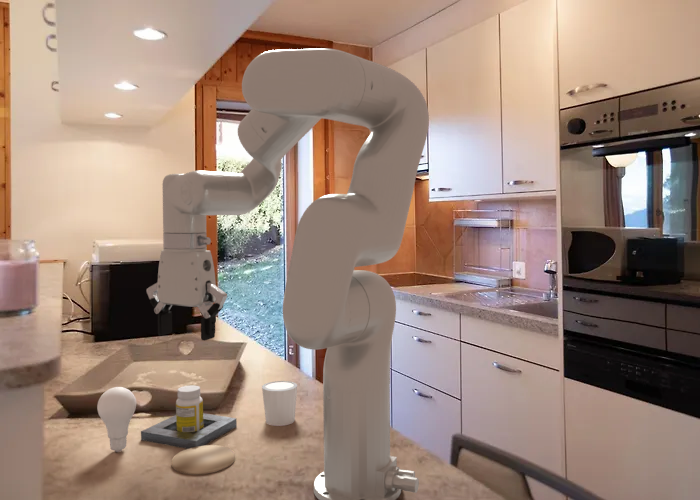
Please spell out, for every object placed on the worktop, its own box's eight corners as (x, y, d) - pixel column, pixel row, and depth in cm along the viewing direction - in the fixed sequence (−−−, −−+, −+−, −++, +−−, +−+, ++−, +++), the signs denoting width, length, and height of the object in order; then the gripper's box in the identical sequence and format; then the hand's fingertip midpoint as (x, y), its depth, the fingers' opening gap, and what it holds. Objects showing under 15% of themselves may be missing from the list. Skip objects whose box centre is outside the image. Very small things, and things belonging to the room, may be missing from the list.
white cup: (255, 423, 110) (254, 387, 110) (274, 412, 116) (274, 378, 116) (285, 429, 107) (285, 392, 107) (304, 417, 113) (303, 382, 113)
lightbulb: (144, 451, 97) (142, 387, 97) (107, 462, 93) (105, 395, 92) (128, 441, 102) (126, 380, 101) (92, 451, 97) (90, 387, 97)
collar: (236, 426, 109) (236, 418, 108) (195, 450, 98) (195, 441, 97) (185, 418, 113) (185, 410, 113) (141, 440, 102) (140, 431, 102)
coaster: (247, 453, 96) (247, 450, 96) (210, 478, 87) (210, 474, 87) (198, 445, 100) (198, 441, 100) (158, 468, 91) (158, 464, 91)
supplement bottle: (193, 426, 109) (192, 383, 108) (209, 432, 106) (207, 387, 105) (171, 434, 105) (170, 389, 105) (186, 440, 102) (185, 393, 102)
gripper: (237, 243, 104) (237, 336, 105) (161, 240, 111) (163, 328, 112) (211, 245, 97) (212, 345, 98) (132, 242, 104) (134, 336, 105)
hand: (186, 336), depth 105 cm, fingers open, 9 cm apart
